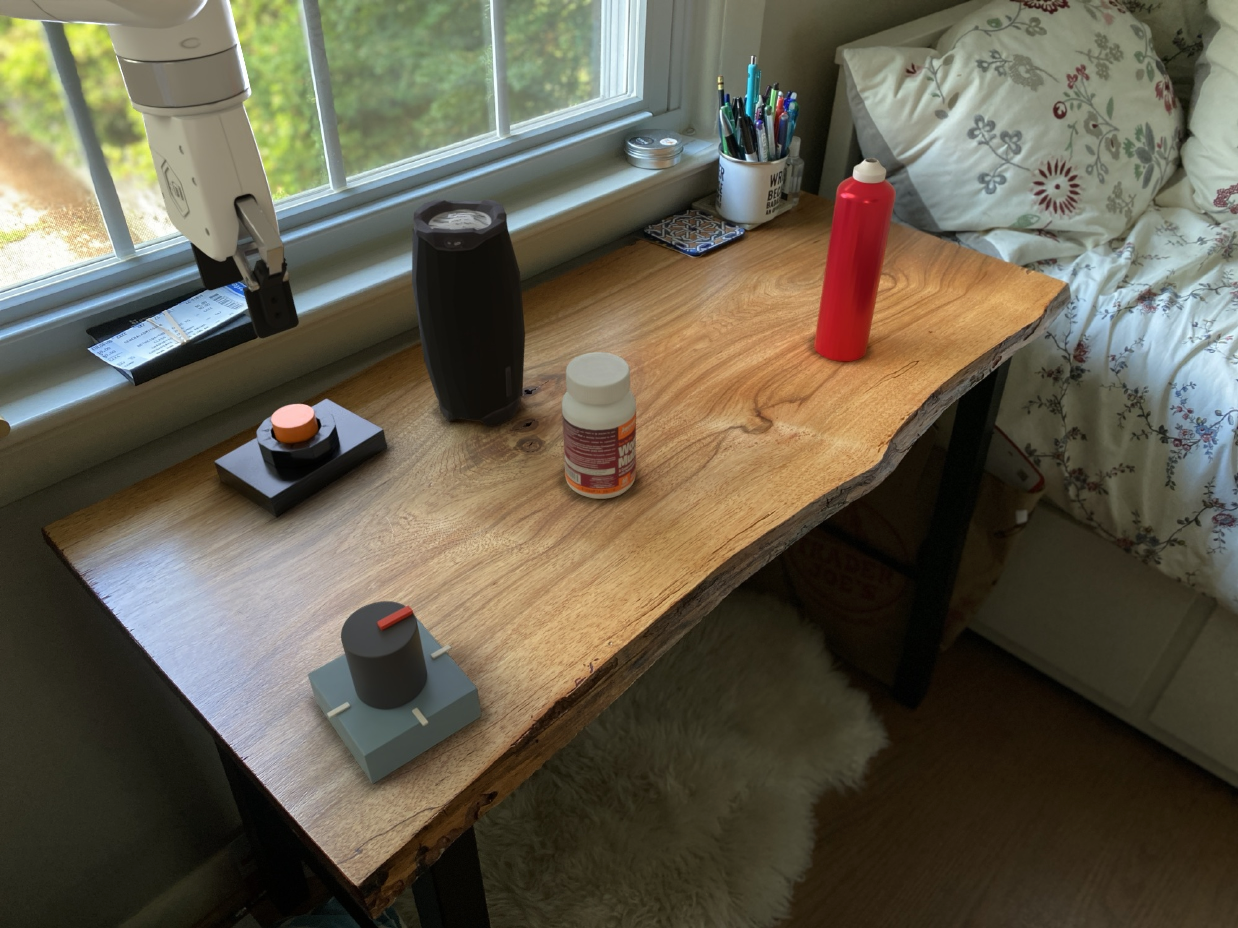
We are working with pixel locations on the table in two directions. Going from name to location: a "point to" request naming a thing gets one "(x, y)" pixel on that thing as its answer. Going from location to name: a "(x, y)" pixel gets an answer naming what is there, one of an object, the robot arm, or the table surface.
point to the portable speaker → (469, 308)
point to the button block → (300, 459)
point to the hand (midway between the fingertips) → (250, 306)
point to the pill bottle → (599, 426)
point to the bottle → (854, 262)
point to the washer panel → (397, 711)
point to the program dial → (384, 654)
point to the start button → (294, 423)
